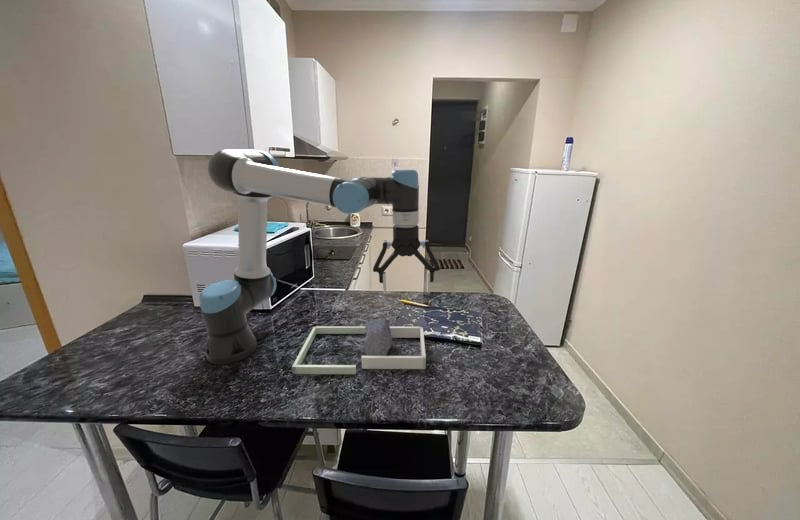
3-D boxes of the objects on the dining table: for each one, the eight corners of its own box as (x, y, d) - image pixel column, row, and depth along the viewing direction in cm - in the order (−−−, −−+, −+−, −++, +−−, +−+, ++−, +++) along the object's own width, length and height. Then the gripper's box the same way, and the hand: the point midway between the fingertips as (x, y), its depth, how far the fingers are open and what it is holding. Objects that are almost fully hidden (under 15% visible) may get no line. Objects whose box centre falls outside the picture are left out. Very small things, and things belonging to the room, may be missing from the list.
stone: (371, 344, 109) (397, 338, 106) (366, 366, 100) (394, 361, 98) (358, 319, 103) (385, 313, 101) (351, 340, 95) (381, 334, 92)
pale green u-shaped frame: (292, 373, 91) (291, 366, 91) (314, 332, 113) (313, 326, 112) (355, 374, 91) (355, 367, 90) (365, 332, 113) (365, 326, 112)
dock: (361, 368, 93) (361, 357, 92) (368, 336, 110) (368, 326, 109) (425, 369, 93) (425, 358, 92) (422, 336, 110) (422, 326, 109)
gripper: (361, 228, 85) (365, 297, 92) (450, 226, 85) (448, 296, 92) (364, 223, 92) (368, 287, 99) (446, 221, 92) (444, 286, 99)
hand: (406, 291), depth 95 cm, fingers open, 13 cm apart
